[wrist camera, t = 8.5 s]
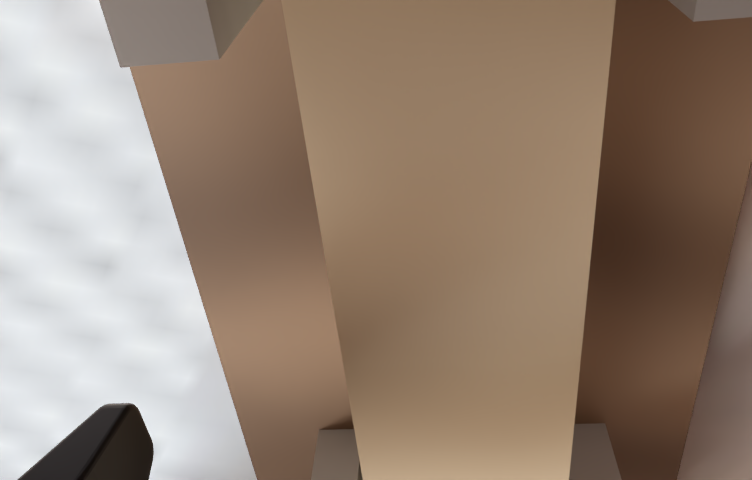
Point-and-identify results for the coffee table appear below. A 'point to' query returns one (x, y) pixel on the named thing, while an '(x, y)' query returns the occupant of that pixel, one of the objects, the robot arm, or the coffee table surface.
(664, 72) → the end cap base
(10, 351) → the coffee table surface
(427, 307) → the birch slat
